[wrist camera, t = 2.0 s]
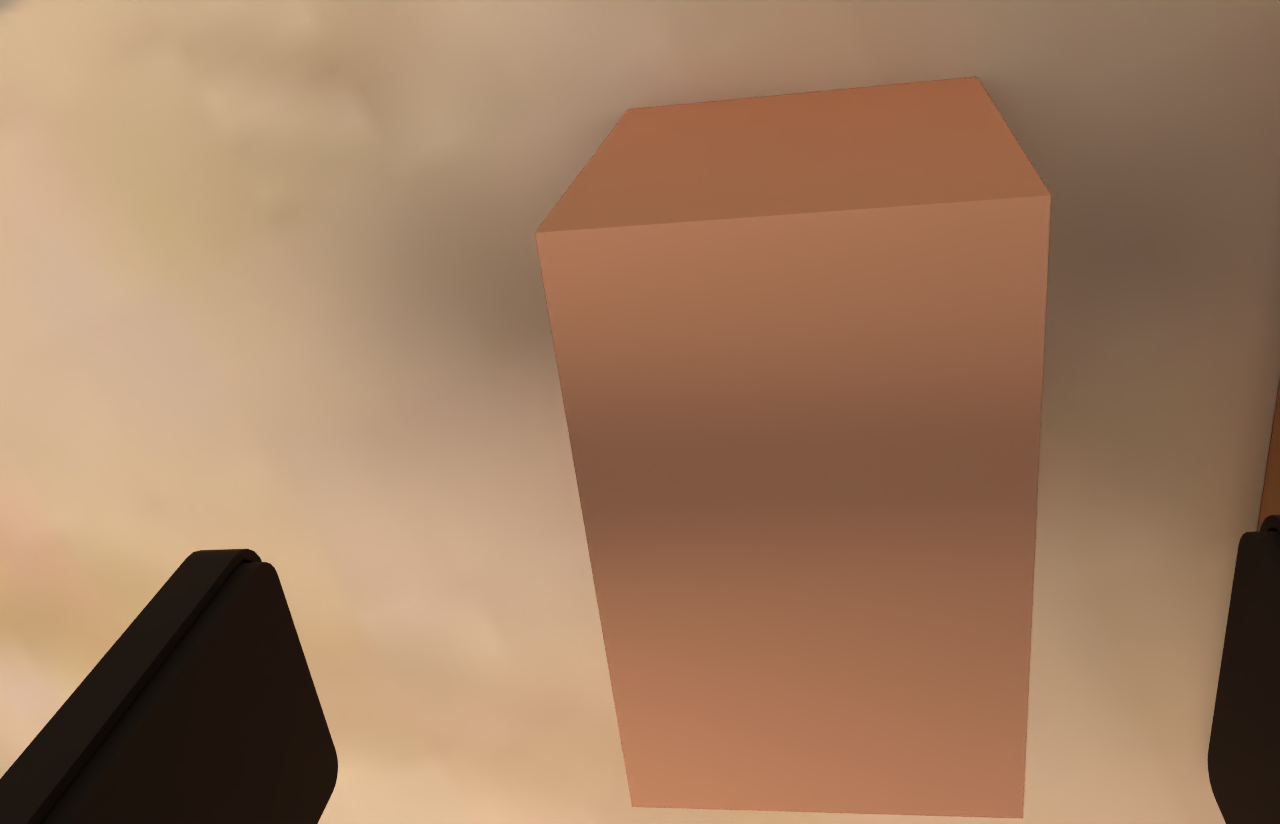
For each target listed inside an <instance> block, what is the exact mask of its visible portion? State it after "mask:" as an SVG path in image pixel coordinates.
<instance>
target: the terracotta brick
mask: <svg viewBox="0 0 1280 824" xmlns="http://www.w3.org/2000/svg"><path fill="white" fill-rule="evenodd" d="M1050 206H1051V194H1050V193H1049V191H1048V190H1047V188H1046V186H1045V185H1044V183H1043V182H1042V180H1041V178H1040V177H1039V175H1038V174H1037V172H1036V171H1035V169H1034V167H1033V166H1032V164H1031V163H1030V161H1029V159H1028V158H1027V156H1026V155H1025V153H1024V151H1023V150H1022V148H1021V147H1020V145H1019V143H1018V142H1017V140H1016V139H1015V137H1014V135H1013V134H1012V132H1011V131H1010V129H1009V127H1008V126H1007V124H1006V123H1005V121H1004V119H1003V118H1002V116H1001V115H1000V113H999V111H998V110H997V108H996V107H995V105H994V103H993V102H992V100H991V99H990V97H989V95H988V94H987V92H986V91H985V89H984V88H983V86H982V84H981V83H980V81H979V80H978V78H977V77H969V78H958V79H947V80H937V81H926V82H915V83H905V84H894V85H883V86H873V87H862V88H851V89H841V90H830V91H819V92H809V93H798V94H787V95H777V96H766V97H755V98H744V99H734V100H723V101H712V102H702V103H691V104H680V105H670V106H659V107H648V108H638V109H628V110H627V112H626V113H625V114H624V116H623V117H622V118H621V119H620V121H619V122H618V123H617V125H616V126H615V127H614V129H613V130H612V131H611V133H610V134H609V135H608V137H607V138H606V139H605V141H604V142H603V143H602V145H601V146H600V147H599V149H598V150H597V151H596V153H595V154H594V155H593V157H592V158H591V159H590V161H589V162H588V163H587V165H586V166H585V167H584V168H583V170H582V171H581V172H580V174H579V175H578V176H577V178H576V179H575V180H574V182H573V183H572V184H571V186H570V187H569V188H568V190H567V191H566V192H565V194H564V195H563V196H562V198H561V199H560V200H559V202H558V203H557V204H556V206H555V207H554V208H553V210H552V211H551V212H550V214H549V215H548V216H547V218H546V219H545V220H544V221H543V223H542V224H541V225H540V227H539V228H538V229H537V231H536V232H535V237H536V242H537V248H538V254H539V260H540V266H541V272H542V278H543V284H544V290H545V296H546V301H547V307H548V313H549V319H550V325H551V331H552V337H553V343H554V349H555V354H556V360H557V366H558V372H559V378H560V384H561V390H562V396H563V402H564V408H565V413H566V419H567V425H568V431H569V437H570V443H571V449H572V455H573V461H574V467H575V472H576V478H577V484H578V490H579V496H580V502H581V508H582V514H583V520H584V525H585V531H586V537H587V543H588V549H589V555H590V561H591V567H592V573H593V579H594V584H595V590H596V596H597V602H598V608H599V614H600V620H601V626H602V632H603V638H604V643H605V649H606V655H607V661H608V667H609V673H610V679H611V685H612V691H613V696H614V702H615V708H616V714H617V720H618V726H619V732H620V738H621V744H622V750H623V755H624V761H625V767H626V773H627V779H628V785H629V791H630V797H631V803H632V807H656V808H690V809H723V810H757V811H791V812H825V813H858V814H892V815H926V816H960V817H994V818H1023V806H1024V783H1025V761H1026V739H1027V717H1028V695H1029V672H1030V650H1031V628H1032V606H1033V584H1034V561H1035V539H1036V517H1037V495H1038V473H1039V451H1040V428H1041V406H1042V384H1043V362H1044V340H1045V317H1046V295H1047V273H1048V251H1049V229H1050Z"/></svg>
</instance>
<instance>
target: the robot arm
mask: <svg viewBox="0 0 1280 824" xmlns="http://www.w3.org/2000/svg"><path fill="white" fill-rule="evenodd" d="M1208 771H1209V778H1210V783H1211V787H1212V791H1213V794H1214V796H1215V799H1216V801H1217V804H1218V806H1219V808H1220V811H1221V813H1222V815H1223V817H1224V820H1225V822H1226V824H1280V515H1270V516H1268V517H1266V518H1265V519H1264V521H1263V523H1262V525H1261V527H1260V531H1259V532H1246V533H1244V534H1243V535H1242V537H1241V539H1240V542H1239V546H1238V553H1237V559H1236V566H1235V573H1234V580H1233V587H1232V593H1231V600H1230V607H1229V614H1228V621H1227V627H1226V634H1225V641H1224V648H1223V655H1222V661H1221V668H1220V675H1219V682H1218V689H1217V696H1216V702H1215V709H1214V716H1213V723H1212V730H1211V736H1210V743H1209V750H1208ZM337 772H338V760H337V754H336V750H335V747H334V744H333V741H332V738H331V735H330V732H329V729H328V726H327V723H326V720H325V717H324V714H323V711H322V708H321V705H320V702H319V699H318V696H317V693H316V690H315V687H314V683H313V680H312V677H311V674H310V671H309V668H308V665H307V662H306V659H305V656H304V653H303V650H302V647H301V644H300V641H299V638H298V635H297V632H296V629H295V626H294V623H293V620H292V617H291V614H290V611H289V608H288V604H287V601H286V598H285V595H284V592H283V589H282V586H281V583H280V580H279V577H278V574H277V572H276V570H275V568H274V567H273V566H272V565H271V564H270V563H267V562H262V561H261V559H260V557H259V556H258V555H257V554H256V553H255V552H254V551H252V550H249V549H229V550H200V551H196V552H193V553H192V554H191V555H190V556H188V557H187V558H186V559H185V561H184V562H183V563H182V564H181V565H180V567H179V568H178V569H177V570H176V571H175V572H174V574H173V575H172V576H171V577H170V578H169V580H168V581H167V582H166V583H165V584H164V586H163V587H162V588H161V589H160V590H159V591H158V593H157V594H156V595H155V596H154V597H153V599H152V600H151V601H150V602H149V603H148V604H147V606H146V607H145V608H144V609H143V610H142V612H141V613H140V614H139V615H138V616H137V618H136V619H135V620H134V621H133V622H132V623H131V625H130V626H129V627H128V628H127V629H126V631H125V632H124V633H123V634H122V635H121V637H120V638H119V639H118V640H117V641H116V642H115V644H114V645H113V646H112V647H111V648H110V650H109V651H108V652H107V653H106V654H105V656H104V657H103V658H102V659H101V660H100V661H99V663H98V664H97V665H96V666H95V667H94V669H93V670H92V671H91V672H90V673H89V675H88V676H87V677H86V678H85V679H84V680H83V682H82V683H81V684H80V685H79V686H78V688H77V689H76V690H75V691H74V692H73V693H72V695H71V696H70V697H69V698H68V699H67V701H66V702H65V703H64V704H63V705H62V707H61V708H60V709H59V710H58V711H57V712H56V714H55V715H54V716H53V717H52V718H51V720H50V721H49V722H48V723H47V724H46V726H45V727H44V728H43V729H42V730H41V731H40V733H39V734H38V735H37V736H36V737H35V739H34V740H33V741H32V742H31V743H30V745H29V746H28V747H27V748H26V749H25V750H24V752H23V753H22V754H21V755H20V756H19V758H18V759H17V760H16V761H15V762H14V764H13V765H12V766H11V767H10V768H9V769H8V771H7V772H6V773H5V774H4V775H3V777H2V778H1V779H0V824H317V823H318V821H319V819H320V817H321V815H322V813H323V811H324V809H325V807H326V805H327V803H328V801H329V799H330V797H331V795H332V792H333V790H334V787H335V784H336V779H337Z"/></svg>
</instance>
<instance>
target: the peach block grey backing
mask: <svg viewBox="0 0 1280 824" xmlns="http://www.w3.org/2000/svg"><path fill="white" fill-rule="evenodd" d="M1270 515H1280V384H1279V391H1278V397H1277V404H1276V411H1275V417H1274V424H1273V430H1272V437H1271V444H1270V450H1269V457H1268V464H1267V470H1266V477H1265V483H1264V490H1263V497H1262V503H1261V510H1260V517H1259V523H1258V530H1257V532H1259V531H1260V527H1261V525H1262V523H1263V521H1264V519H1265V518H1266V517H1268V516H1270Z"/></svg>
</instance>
